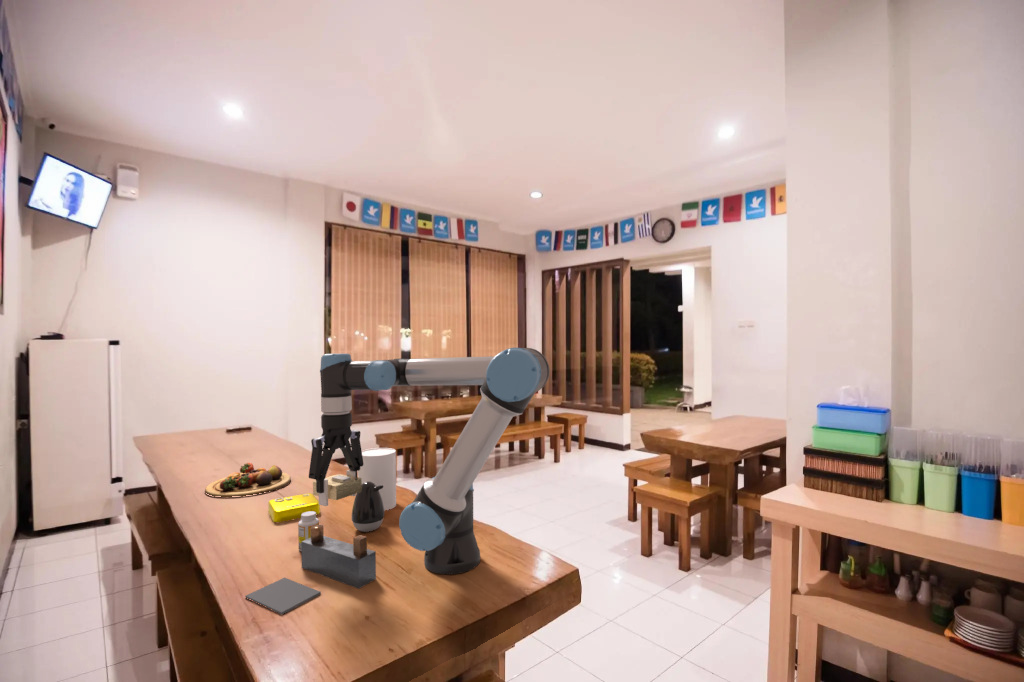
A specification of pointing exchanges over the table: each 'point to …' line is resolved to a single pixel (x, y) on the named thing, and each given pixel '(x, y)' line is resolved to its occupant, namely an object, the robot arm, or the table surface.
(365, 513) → the pump dispenser
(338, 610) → the table surface
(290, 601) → the rubber mat
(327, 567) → the plane body
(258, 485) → the wooden plate with food
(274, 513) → the element tile
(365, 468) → the canister
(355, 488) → the lever cap
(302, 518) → the supplement bottle
